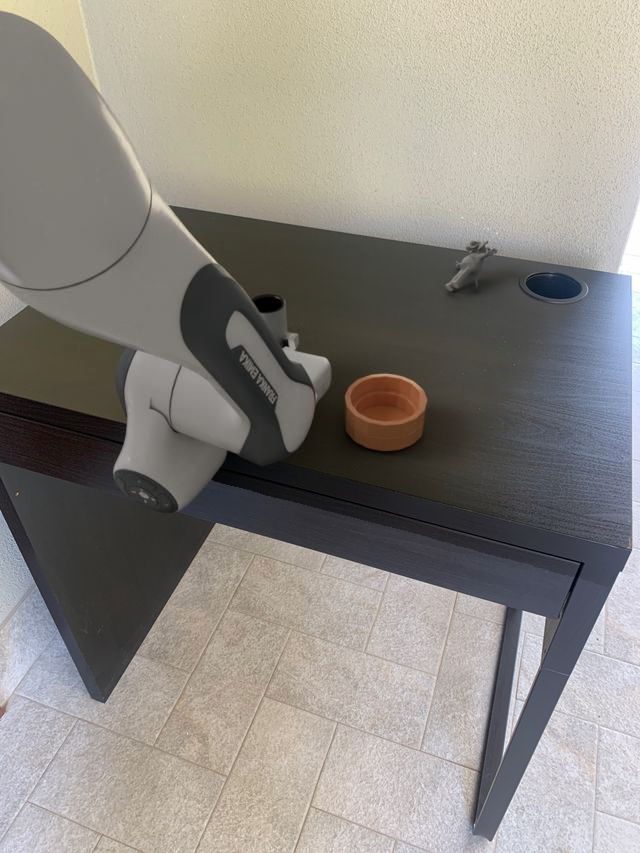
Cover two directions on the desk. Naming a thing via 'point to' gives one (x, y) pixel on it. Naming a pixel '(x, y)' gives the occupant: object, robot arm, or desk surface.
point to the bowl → (385, 412)
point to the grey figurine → (470, 263)
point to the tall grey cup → (273, 314)
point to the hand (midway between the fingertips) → (271, 332)
